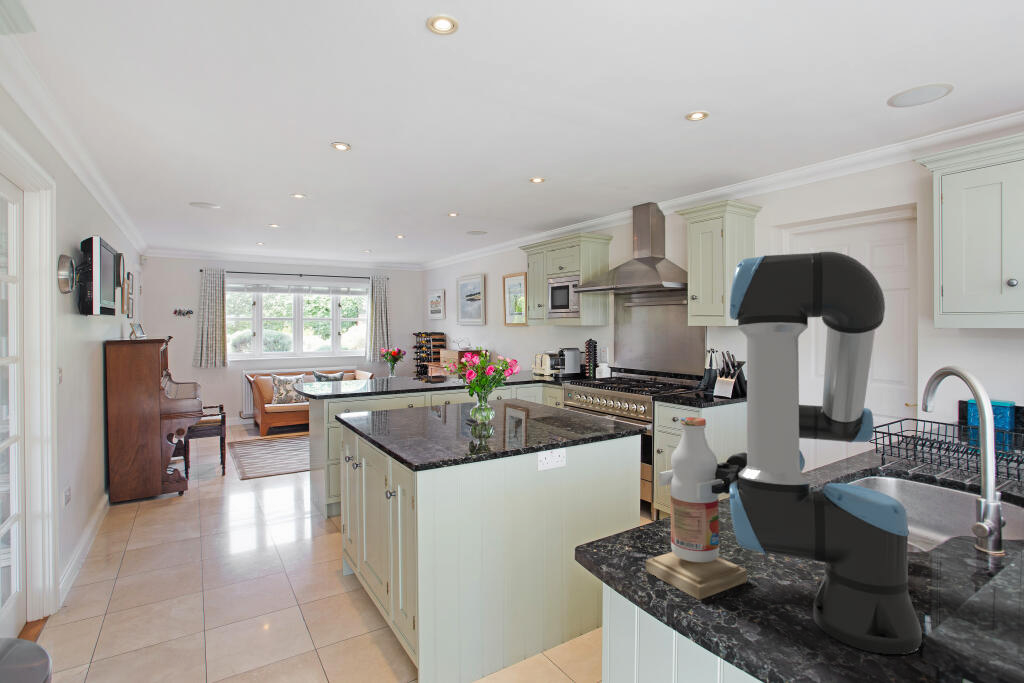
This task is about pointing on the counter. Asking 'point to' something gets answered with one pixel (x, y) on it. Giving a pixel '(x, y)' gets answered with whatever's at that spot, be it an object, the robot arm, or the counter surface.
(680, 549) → the fruit juice
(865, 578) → the robot arm
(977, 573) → the counter surface
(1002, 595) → the counter surface
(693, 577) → the board
